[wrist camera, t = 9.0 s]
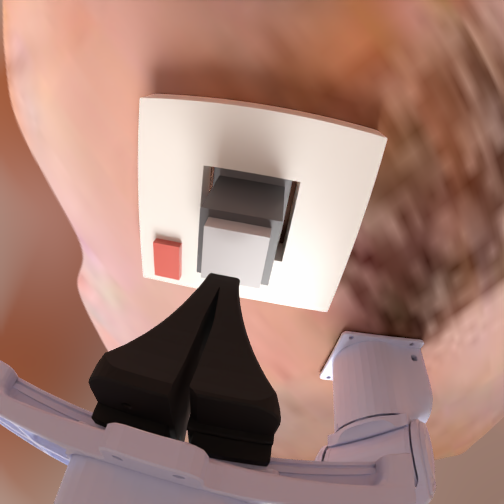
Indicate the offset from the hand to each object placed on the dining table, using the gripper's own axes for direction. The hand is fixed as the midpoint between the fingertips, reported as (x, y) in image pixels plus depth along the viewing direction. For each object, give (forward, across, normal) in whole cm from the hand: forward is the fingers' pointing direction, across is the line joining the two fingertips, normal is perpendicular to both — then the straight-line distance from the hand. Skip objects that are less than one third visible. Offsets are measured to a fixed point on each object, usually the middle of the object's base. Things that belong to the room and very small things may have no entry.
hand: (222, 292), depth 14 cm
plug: (+9, 0, 0) cm, 9 cm away
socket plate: (+10, 0, 0) cm, 10 cm away
